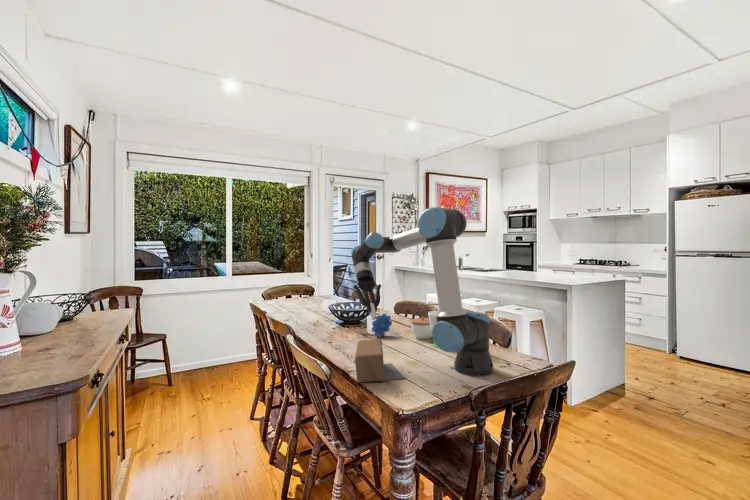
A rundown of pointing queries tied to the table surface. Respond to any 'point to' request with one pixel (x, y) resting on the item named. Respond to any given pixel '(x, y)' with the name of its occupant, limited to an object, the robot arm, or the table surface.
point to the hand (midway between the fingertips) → (374, 318)
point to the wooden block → (369, 360)
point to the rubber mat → (391, 373)
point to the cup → (433, 321)
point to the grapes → (381, 324)
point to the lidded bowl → (421, 328)
